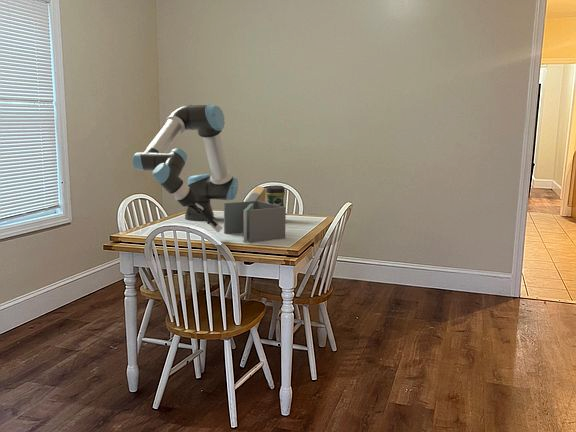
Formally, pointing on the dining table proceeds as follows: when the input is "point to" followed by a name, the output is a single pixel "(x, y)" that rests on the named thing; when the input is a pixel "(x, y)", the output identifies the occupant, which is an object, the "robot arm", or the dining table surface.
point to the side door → (247, 222)
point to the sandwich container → (257, 194)
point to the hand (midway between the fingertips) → (219, 229)
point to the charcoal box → (256, 220)
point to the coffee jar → (275, 195)
